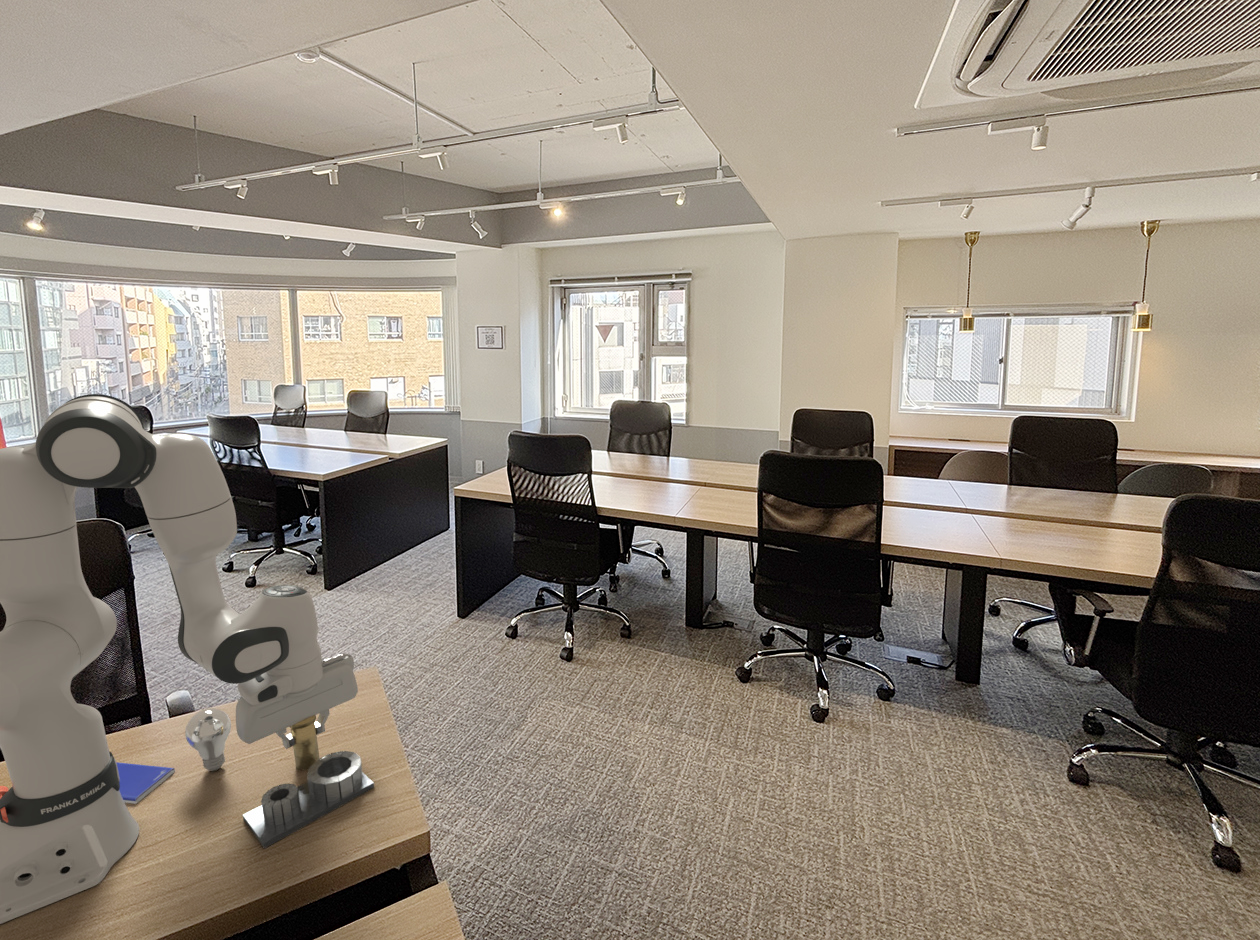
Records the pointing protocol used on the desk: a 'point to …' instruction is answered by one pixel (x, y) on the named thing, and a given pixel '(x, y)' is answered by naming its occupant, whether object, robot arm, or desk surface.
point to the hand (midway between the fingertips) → (304, 738)
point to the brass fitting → (305, 743)
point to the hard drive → (140, 780)
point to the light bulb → (209, 736)
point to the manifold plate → (308, 797)
